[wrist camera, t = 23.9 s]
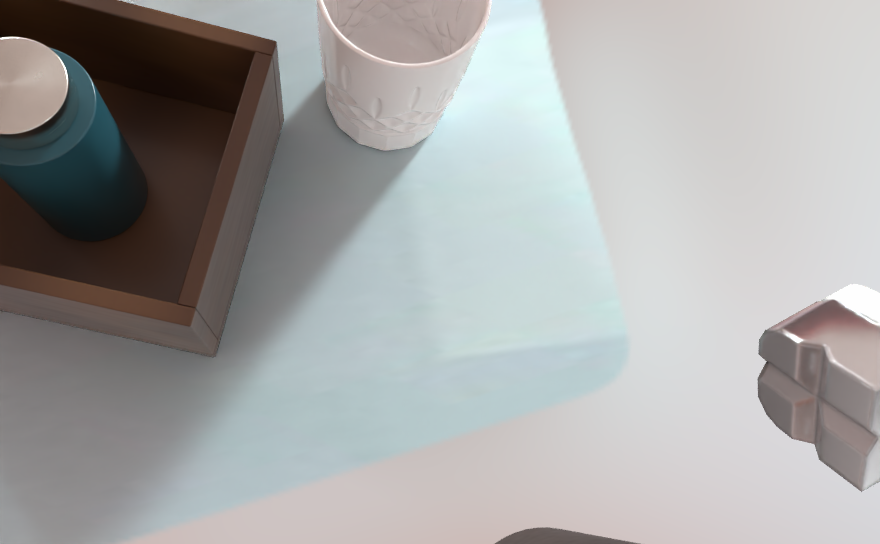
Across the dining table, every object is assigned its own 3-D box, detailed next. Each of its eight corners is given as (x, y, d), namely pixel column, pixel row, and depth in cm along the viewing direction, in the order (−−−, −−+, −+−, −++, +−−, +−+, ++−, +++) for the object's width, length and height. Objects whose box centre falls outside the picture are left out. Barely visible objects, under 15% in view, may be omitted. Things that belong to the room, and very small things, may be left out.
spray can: (161, 159, 39) (104, 41, 29) (129, 252, 38) (57, 164, 27) (59, 135, 39) (-36, 6, 28) (23, 228, 37) (-92, 128, 27)
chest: (284, 119, 42) (277, 40, 34) (215, 357, 38) (190, 326, 30) (-4, 46, 40) (-77, -52, 33) (-108, 286, 36) (-217, 236, 29)
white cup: (476, 134, 43) (521, 36, 34) (349, 181, 42) (359, 91, 32) (419, 20, 45) (446, -105, 35) (294, 60, 43) (287, -60, 33)
